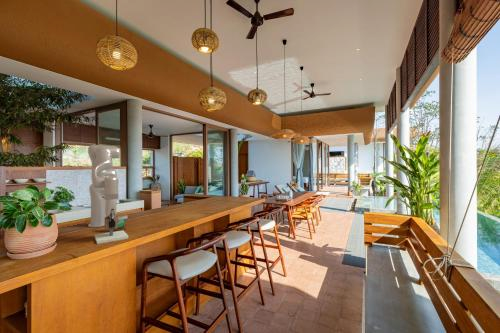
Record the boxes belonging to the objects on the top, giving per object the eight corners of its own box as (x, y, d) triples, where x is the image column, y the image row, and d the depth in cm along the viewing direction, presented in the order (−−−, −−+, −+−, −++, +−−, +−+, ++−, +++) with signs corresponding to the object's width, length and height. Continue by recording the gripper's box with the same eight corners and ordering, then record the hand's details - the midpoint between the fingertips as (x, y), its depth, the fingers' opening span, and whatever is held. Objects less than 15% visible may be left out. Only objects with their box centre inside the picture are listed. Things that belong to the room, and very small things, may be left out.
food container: (104, 232, 153) (104, 217, 153) (108, 230, 159) (108, 215, 159) (124, 231, 155) (124, 217, 155) (127, 229, 161) (127, 215, 161)
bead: (104, 227, 143) (104, 217, 143) (116, 225, 147) (116, 216, 147) (105, 229, 138) (105, 219, 138) (118, 227, 142) (118, 217, 142)
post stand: (94, 237, 143) (94, 221, 143) (123, 232, 153) (123, 218, 153) (97, 243, 131) (97, 227, 131) (128, 238, 141) (128, 222, 141)
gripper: (102, 196, 147) (102, 224, 147) (106, 199, 133) (106, 230, 133) (115, 195, 151) (115, 222, 151) (120, 198, 138) (120, 228, 138)
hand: (111, 225), depth 142 cm, fingers closed on bead, 6 cm apart
